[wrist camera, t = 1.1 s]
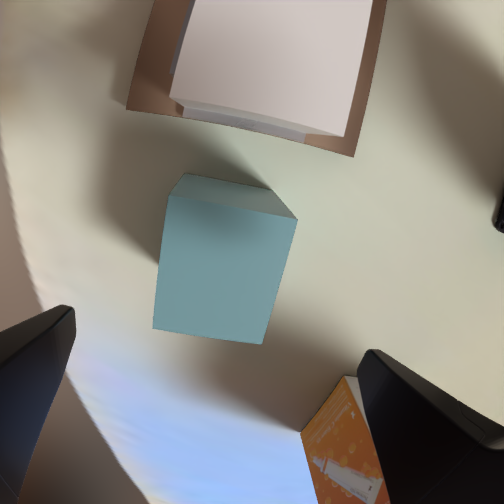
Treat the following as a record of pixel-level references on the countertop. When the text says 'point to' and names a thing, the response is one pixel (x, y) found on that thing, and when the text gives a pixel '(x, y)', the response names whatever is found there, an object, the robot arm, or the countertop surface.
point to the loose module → (221, 259)
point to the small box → (343, 450)
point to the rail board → (158, 102)
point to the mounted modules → (272, 60)
